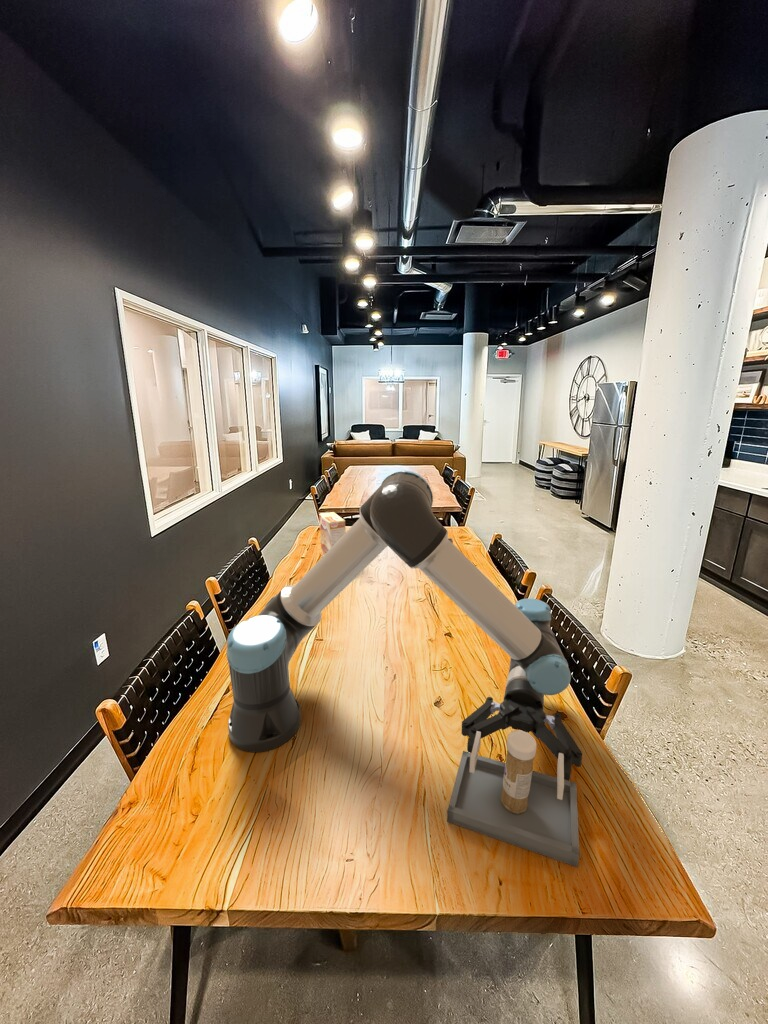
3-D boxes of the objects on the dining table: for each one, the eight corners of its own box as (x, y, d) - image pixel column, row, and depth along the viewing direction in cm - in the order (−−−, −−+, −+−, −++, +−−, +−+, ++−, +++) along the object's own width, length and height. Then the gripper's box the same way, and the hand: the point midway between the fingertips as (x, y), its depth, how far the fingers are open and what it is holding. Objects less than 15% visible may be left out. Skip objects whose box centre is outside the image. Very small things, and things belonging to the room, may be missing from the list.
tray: (447, 821, 71) (447, 810, 71) (462, 761, 83) (463, 750, 82) (577, 867, 64) (579, 854, 64) (574, 794, 76) (576, 783, 75)
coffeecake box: (320, 555, 190) (318, 513, 185) (336, 552, 193) (334, 511, 187) (331, 567, 177) (329, 522, 171) (347, 564, 180) (345, 520, 174)
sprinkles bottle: (496, 791, 75) (503, 729, 72) (521, 789, 76) (529, 727, 72) (506, 816, 71) (514, 752, 67) (532, 814, 71) (541, 750, 68)
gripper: (589, 725, 84) (598, 823, 65) (462, 695, 93) (438, 773, 74) (594, 692, 82) (604, 784, 63) (464, 665, 91) (439, 738, 72)
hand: (514, 779), depth 68 cm, fingers open, 13 cm apart
